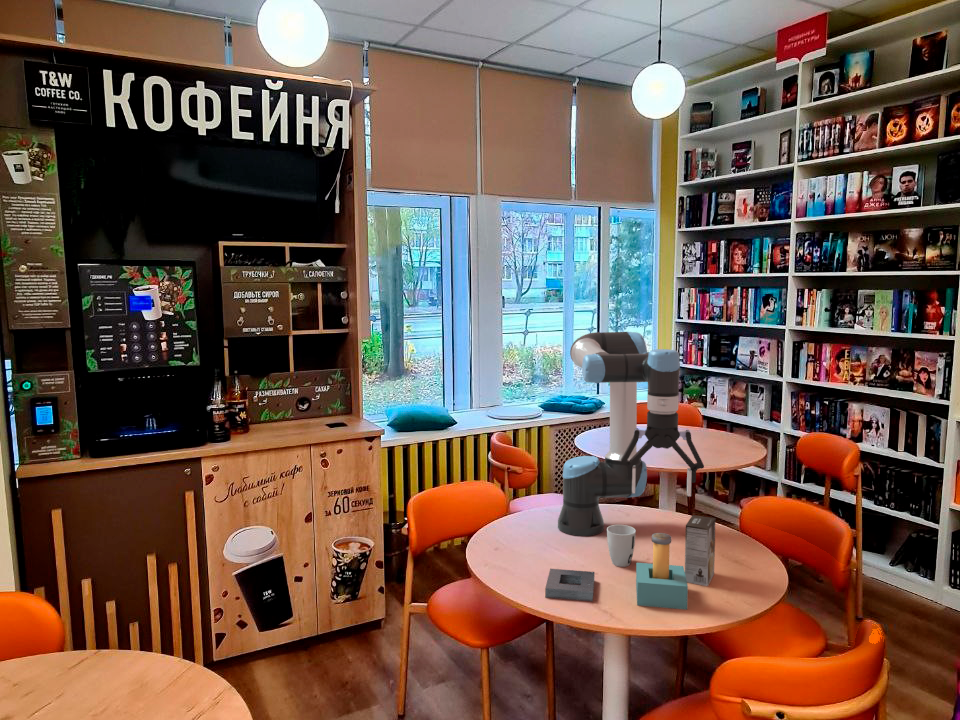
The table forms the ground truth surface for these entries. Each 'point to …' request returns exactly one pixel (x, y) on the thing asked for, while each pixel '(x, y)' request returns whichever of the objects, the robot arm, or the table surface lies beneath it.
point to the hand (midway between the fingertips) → (660, 493)
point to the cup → (621, 544)
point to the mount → (573, 592)
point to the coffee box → (700, 550)
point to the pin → (661, 555)
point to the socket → (661, 587)
